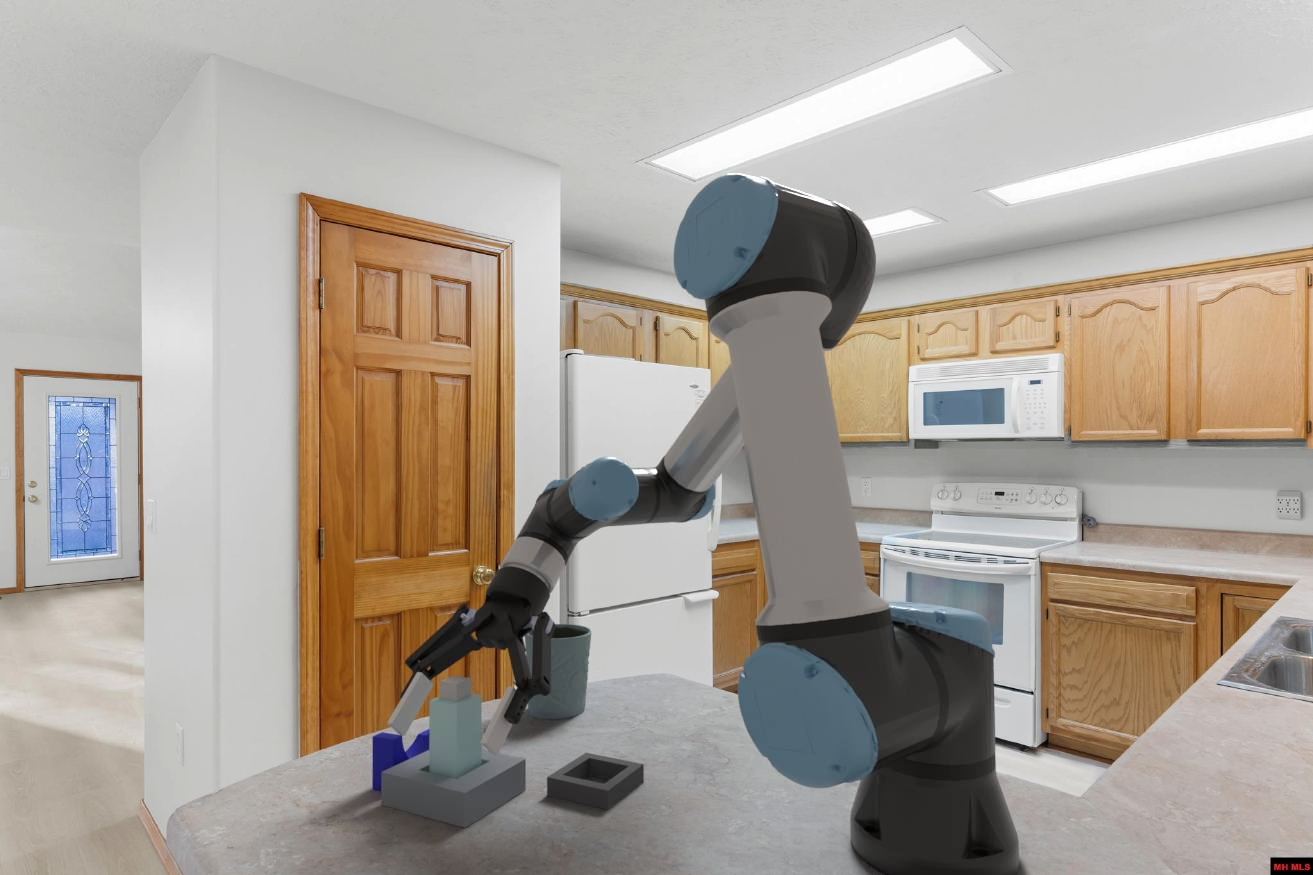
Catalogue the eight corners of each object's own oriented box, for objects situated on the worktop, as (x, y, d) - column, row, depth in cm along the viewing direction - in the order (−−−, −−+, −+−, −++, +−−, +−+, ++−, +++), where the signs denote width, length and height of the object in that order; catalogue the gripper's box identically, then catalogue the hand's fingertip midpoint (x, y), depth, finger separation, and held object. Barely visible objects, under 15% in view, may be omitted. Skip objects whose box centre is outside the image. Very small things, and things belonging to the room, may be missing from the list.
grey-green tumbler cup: (526, 701, 118) (526, 624, 118) (591, 698, 119) (590, 622, 119) (522, 722, 108) (522, 639, 108) (593, 719, 109) (592, 636, 109)
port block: (525, 789, 85) (525, 754, 85) (465, 827, 76) (465, 788, 76) (446, 770, 91) (446, 737, 91) (381, 804, 82) (381, 767, 82)
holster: (643, 781, 87) (643, 763, 87) (608, 809, 80) (607, 790, 80) (586, 769, 91) (585, 752, 91) (547, 795, 84) (547, 776, 84)
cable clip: (431, 750, 97) (431, 704, 98) (460, 755, 96) (459, 707, 96) (362, 787, 86) (362, 734, 87) (392, 793, 85) (392, 739, 85)
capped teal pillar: (481, 793, 84) (481, 677, 85) (456, 807, 81) (456, 686, 81) (454, 786, 86) (454, 673, 87) (429, 800, 83) (429, 682, 83)
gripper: (619, 606, 92) (548, 775, 78) (464, 592, 104) (378, 737, 90) (596, 568, 88) (516, 740, 74) (437, 558, 99) (341, 705, 85)
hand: (440, 739), depth 82 cm, fingers open, 13 cm apart
